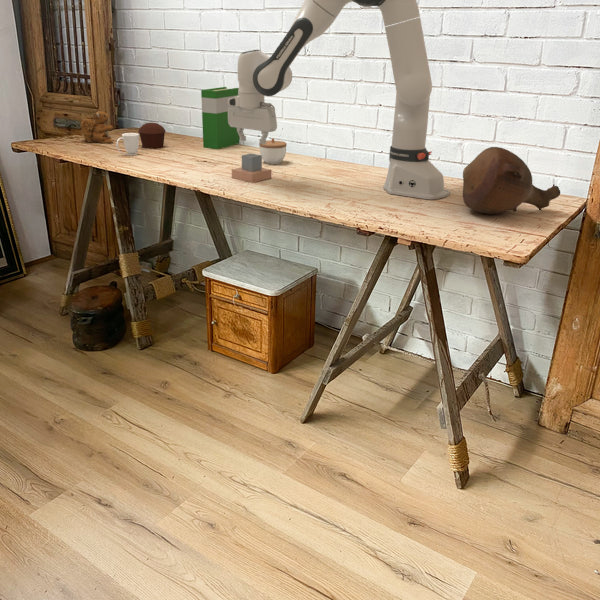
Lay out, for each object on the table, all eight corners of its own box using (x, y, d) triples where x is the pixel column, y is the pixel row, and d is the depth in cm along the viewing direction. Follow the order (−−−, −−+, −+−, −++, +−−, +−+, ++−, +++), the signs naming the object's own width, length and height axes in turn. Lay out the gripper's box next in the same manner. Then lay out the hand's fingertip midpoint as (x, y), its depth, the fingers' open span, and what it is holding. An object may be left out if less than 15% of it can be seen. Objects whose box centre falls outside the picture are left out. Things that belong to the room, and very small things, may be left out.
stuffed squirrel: (114, 143, 275) (111, 112, 270) (80, 144, 272) (77, 113, 266) (115, 139, 284) (112, 109, 278) (82, 140, 281) (79, 109, 275)
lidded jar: (261, 165, 241) (261, 141, 237) (257, 160, 250) (257, 136, 246) (288, 165, 243) (289, 140, 239) (283, 159, 252) (283, 136, 249)
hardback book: (226, 141, 286) (224, 86, 276) (239, 143, 283) (238, 87, 273) (203, 147, 272) (201, 89, 262) (217, 149, 268) (215, 91, 259)
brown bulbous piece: (457, 220, 181) (552, 237, 185) (482, 157, 169) (583, 177, 173) (443, 189, 197) (531, 205, 201) (465, 130, 186) (558, 149, 190)
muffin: (134, 148, 266) (132, 124, 262) (145, 143, 276) (144, 120, 272) (160, 150, 264) (158, 125, 260) (170, 145, 274) (169, 122, 270)
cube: (261, 169, 221) (261, 155, 219) (252, 171, 218) (252, 157, 215) (251, 167, 224) (251, 153, 222) (241, 169, 220) (241, 155, 218)
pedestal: (271, 177, 223) (271, 169, 221) (252, 182, 216) (252, 174, 214) (251, 173, 228) (251, 165, 227) (231, 177, 221) (231, 169, 220)
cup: (144, 154, 254) (142, 134, 251) (122, 157, 248) (120, 137, 245) (135, 152, 259) (133, 132, 256) (113, 154, 253) (111, 134, 249)
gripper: (280, 102, 207) (281, 144, 213) (236, 98, 219) (238, 138, 225) (268, 104, 203) (268, 147, 209) (224, 99, 215) (225, 140, 220)
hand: (252, 142), depth 217 cm, fingers open, 8 cm apart
